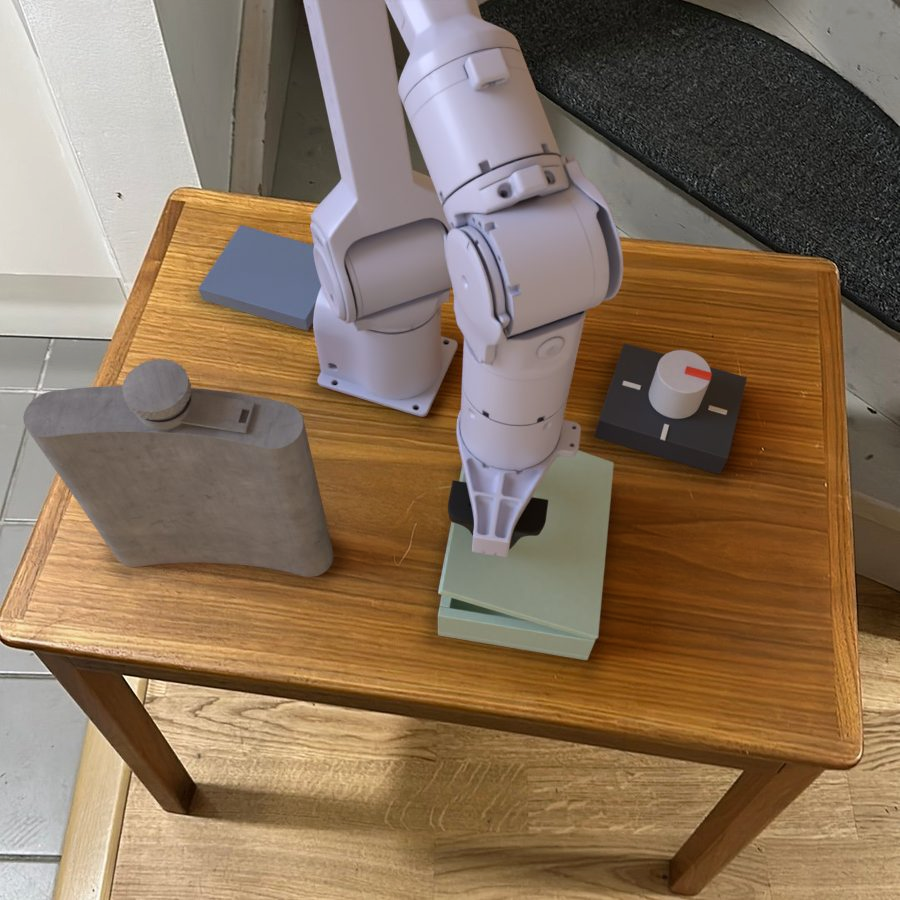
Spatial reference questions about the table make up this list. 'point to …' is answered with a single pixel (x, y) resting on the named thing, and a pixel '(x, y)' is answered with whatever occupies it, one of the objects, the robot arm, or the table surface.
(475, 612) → the open box
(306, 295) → the flat blue-gray rectangular slab
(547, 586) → the box lid
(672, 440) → the console
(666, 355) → the dial
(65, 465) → the hip flask
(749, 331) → the table surface
